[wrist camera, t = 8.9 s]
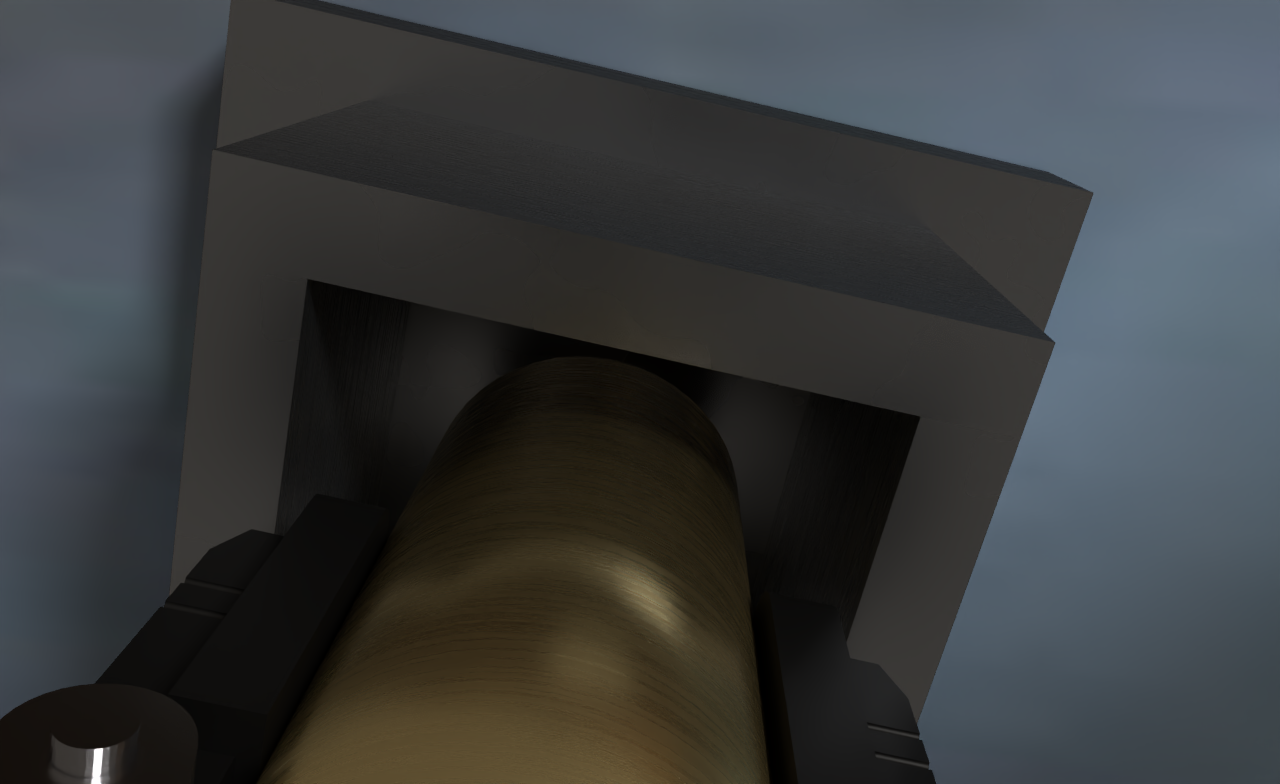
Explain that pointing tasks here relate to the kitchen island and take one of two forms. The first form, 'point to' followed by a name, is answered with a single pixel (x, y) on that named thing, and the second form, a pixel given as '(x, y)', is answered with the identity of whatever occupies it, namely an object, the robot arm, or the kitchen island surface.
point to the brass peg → (550, 604)
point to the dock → (614, 298)
